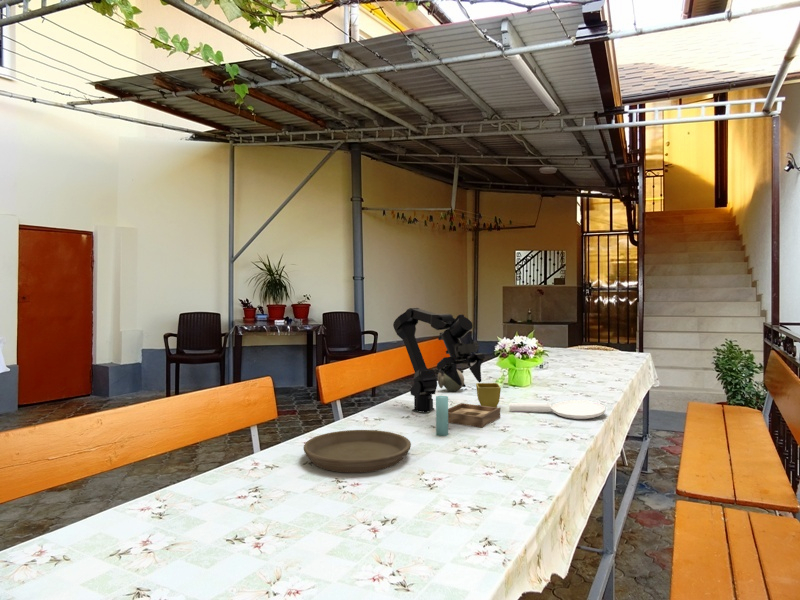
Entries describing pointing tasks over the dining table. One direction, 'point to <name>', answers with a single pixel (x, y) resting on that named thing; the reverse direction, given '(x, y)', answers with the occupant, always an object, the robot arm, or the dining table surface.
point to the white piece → (563, 408)
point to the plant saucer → (357, 450)
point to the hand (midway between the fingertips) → (470, 383)
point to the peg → (442, 415)
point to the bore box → (473, 415)
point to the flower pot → (488, 394)
